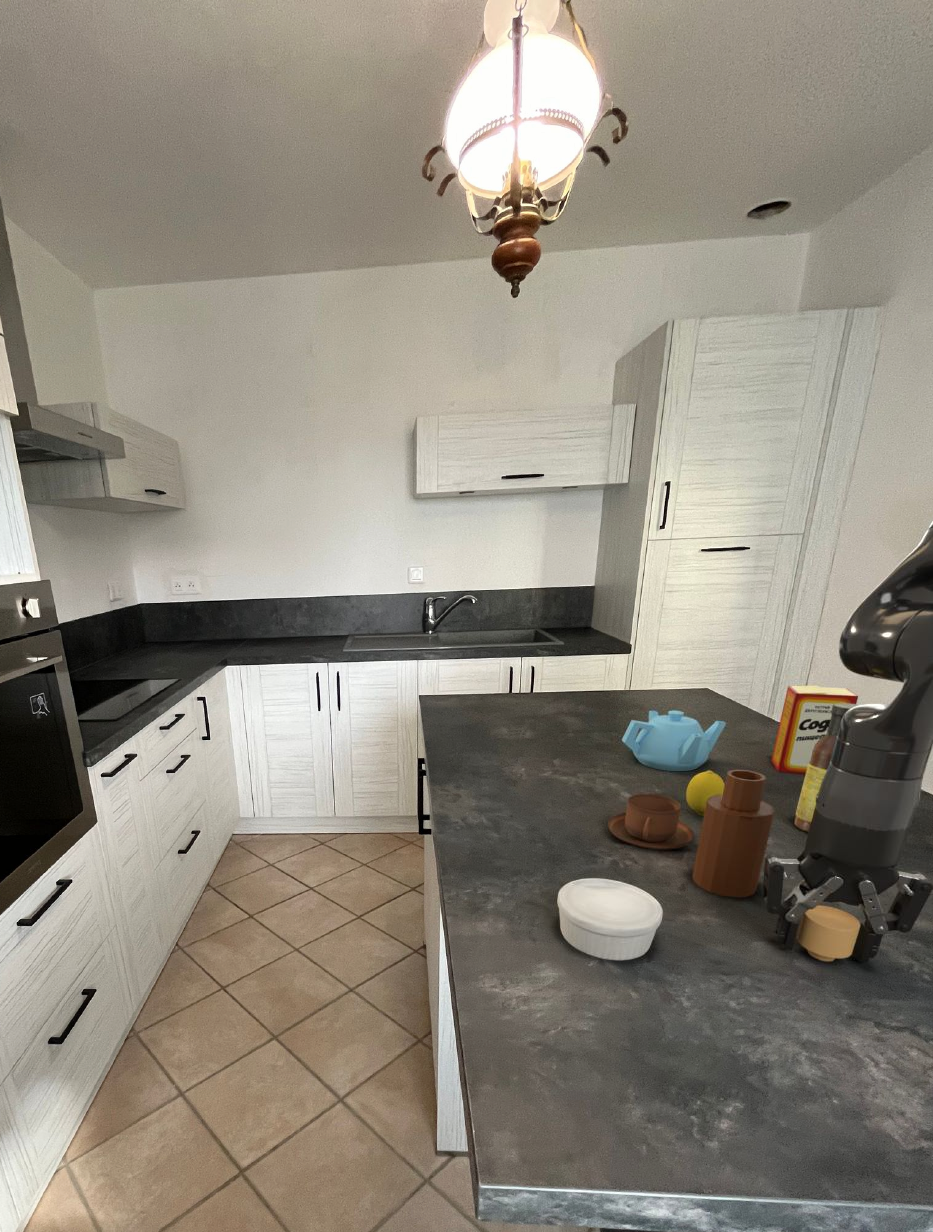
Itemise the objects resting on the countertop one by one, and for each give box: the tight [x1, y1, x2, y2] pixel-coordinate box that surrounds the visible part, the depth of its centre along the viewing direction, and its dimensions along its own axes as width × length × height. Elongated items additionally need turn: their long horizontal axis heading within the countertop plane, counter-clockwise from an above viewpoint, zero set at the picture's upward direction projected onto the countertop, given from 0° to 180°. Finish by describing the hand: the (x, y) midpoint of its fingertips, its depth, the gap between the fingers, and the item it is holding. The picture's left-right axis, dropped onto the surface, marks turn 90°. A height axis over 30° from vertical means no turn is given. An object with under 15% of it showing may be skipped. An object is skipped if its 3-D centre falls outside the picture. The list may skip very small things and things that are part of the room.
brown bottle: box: [692, 769, 776, 898], centre depth 79 cm, size 7×7×16 cm
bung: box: [796, 904, 861, 962], centre depth 67 cm, size 5×5×6 cm
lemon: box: [685, 770, 725, 817], centre depth 102 cm, size 6×6×8 cm
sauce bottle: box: [794, 703, 859, 833], centre depth 94 cm, size 6×6×20 cm
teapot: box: [621, 710, 727, 772], centre depth 127 cm, size 15×15×11 cm
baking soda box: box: [770, 685, 859, 775], centre depth 120 cm, size 10×6×16 cm
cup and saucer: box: [607, 793, 695, 851], centre depth 95 cm, size 12×12×6 cm
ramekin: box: [556, 877, 664, 961], centre depth 71 cm, size 11×11×5 cm
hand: (821, 951), depth 67 cm, fingers open, 6 cm apart
